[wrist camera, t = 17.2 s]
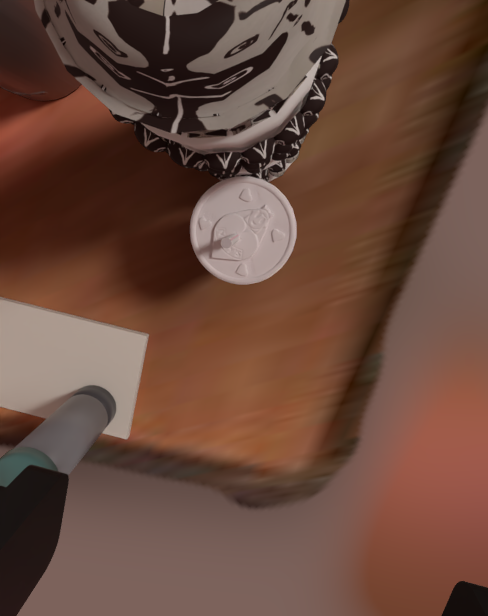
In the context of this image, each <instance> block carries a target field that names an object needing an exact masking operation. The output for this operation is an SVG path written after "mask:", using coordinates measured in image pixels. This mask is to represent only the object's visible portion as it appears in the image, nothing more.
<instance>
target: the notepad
mask: <svg viewBox="0 0 488 616" xmlns="http://www.w3.org/2000/svg"><path fill="white" fill-rule="evenodd" d="M148 337H149V334H146V333H142V332H138V331H134V330H130V329H126V328H122V327H118V326H114V325H110V324H106V323H102V322H98V321H94V320H90V319H86V318H82V317H78V316H75V315H71V314H67V313H63V312H59V311H55V310H51V309H47V308H43V307H39V306H35V305H31V304H27V303H23V302H19V301H15V300H11V299H7V298H3V297H0V407H3V408H7V409H11V410H15V411H19V412H22V413H26V414H30V415H34V416H38V417H42V418H46V419H47V418H48V417H49V416H50V415H51V414H53V413H54V412H55V411H56V410H57V409H58V408H59V407H60V406H61V405H63V404H64V403H65V402H66V401H67V400H68V399H69V398H70V397H71V396H73V395H74V394H75V393H76V392H77V391H78V390H79V389H81V388H82V387H84V386H88V385H96V386H100V387H102V388H104V389H106V390H107V391H108V392H109V393H110V394H111V395H112V396H113V398H114V400H115V402H116V414H115V416H114V418H113V420H112V421H111V422H110V423H109V425H108V426H107V427H106V428H105V430H104V431H103V432H102V433H104V434H108V435H111V436H115V437H119V438H123V439H128V437H129V435H130V430H131V424H132V419H133V414H134V409H135V404H136V399H137V393H138V388H139V383H140V378H141V373H142V368H143V363H144V357H145V352H146V347H147V342H148Z"/></svg>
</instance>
